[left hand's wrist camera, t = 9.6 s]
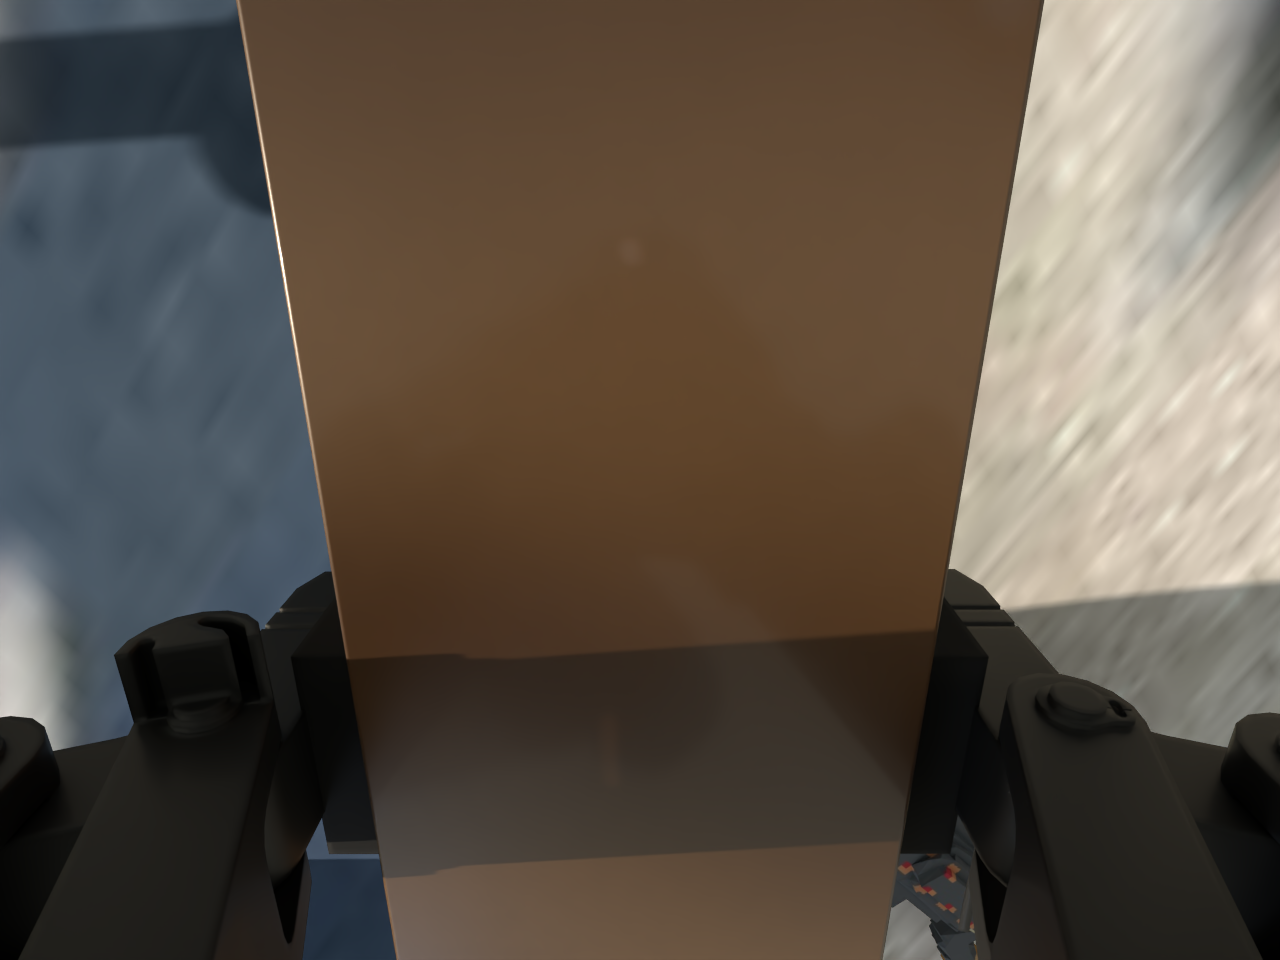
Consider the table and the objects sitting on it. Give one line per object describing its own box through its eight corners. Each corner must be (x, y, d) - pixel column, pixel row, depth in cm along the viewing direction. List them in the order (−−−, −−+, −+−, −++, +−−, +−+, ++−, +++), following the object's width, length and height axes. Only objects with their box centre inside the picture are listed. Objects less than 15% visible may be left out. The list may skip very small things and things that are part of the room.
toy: (823, 519, 33) (1019, 878, 16) (1158, 841, 40) (1550, 1337, 23) (613, 701, 36) (588, 1156, 19) (953, 968, 43) (1158, 1482, 26)
